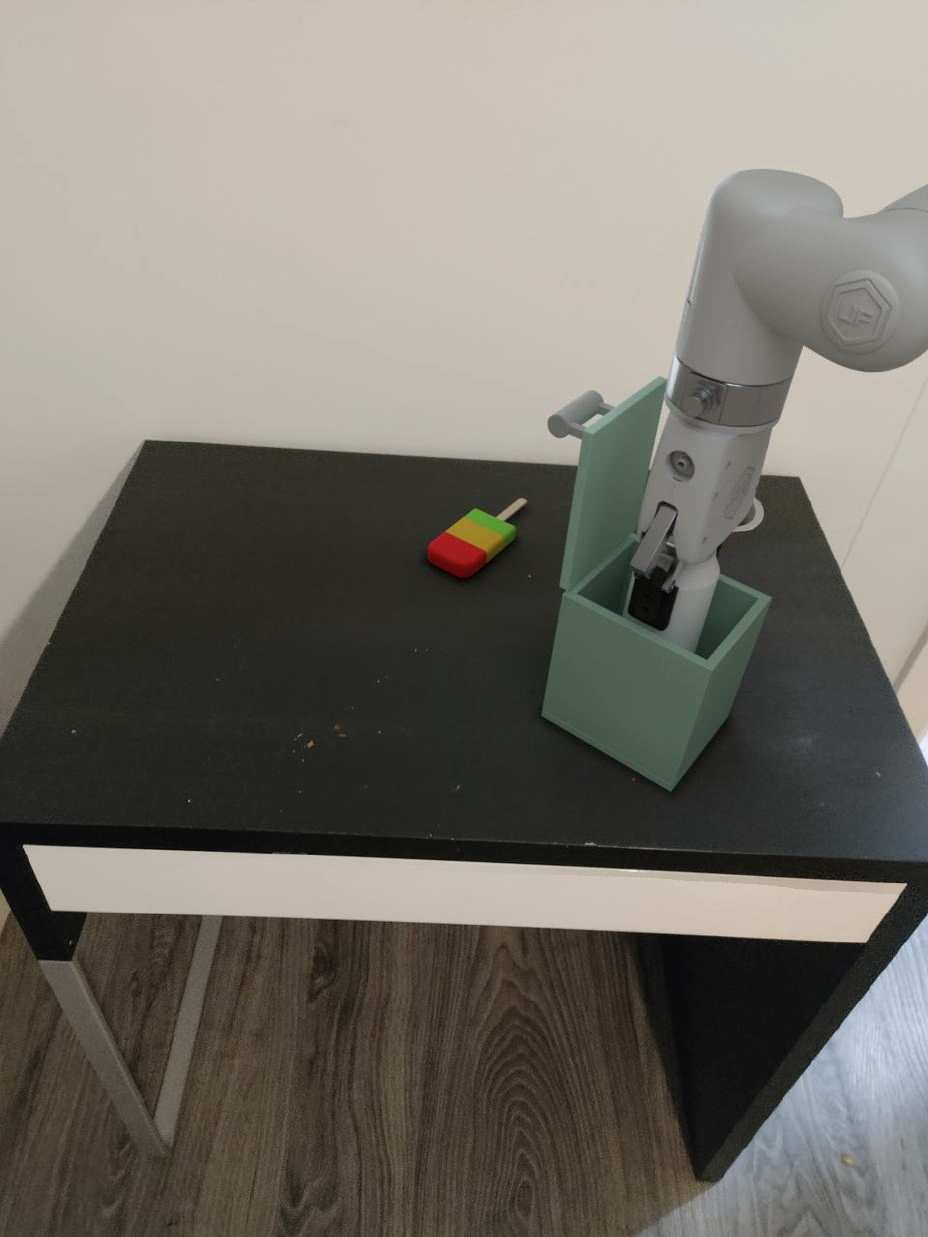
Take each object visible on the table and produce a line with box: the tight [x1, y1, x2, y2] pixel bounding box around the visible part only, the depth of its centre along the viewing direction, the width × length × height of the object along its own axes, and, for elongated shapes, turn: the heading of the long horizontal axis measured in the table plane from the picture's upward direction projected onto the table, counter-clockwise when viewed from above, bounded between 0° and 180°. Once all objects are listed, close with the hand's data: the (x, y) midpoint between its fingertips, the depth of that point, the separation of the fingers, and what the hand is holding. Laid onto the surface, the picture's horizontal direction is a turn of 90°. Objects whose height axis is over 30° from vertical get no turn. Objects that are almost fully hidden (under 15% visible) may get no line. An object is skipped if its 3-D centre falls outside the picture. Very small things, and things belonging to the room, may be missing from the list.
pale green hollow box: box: [540, 532, 773, 792], centre depth 76 cm, size 13×11×14 cm
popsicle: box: [426, 497, 528, 579], centre depth 98 cm, size 6×15×2 cm, turn 145°
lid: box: [547, 375, 668, 591], centre depth 70 cm, size 14×11×5 cm
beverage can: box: [622, 536, 721, 654], centre depth 72 cm, size 6×6×12 cm
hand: (669, 596), depth 71 cm, fingers closed on beverage can, 6 cm apart
